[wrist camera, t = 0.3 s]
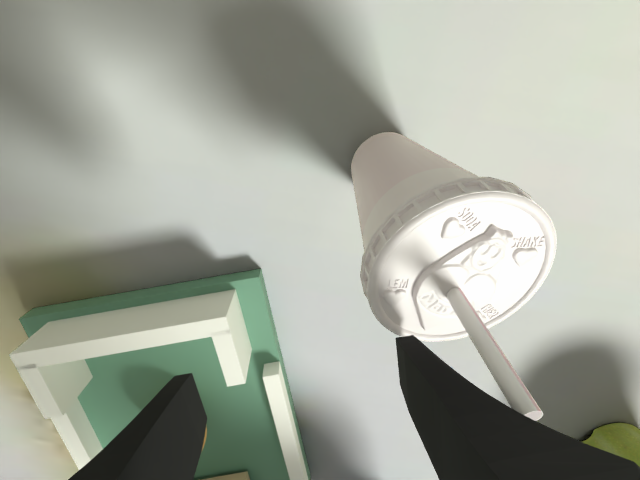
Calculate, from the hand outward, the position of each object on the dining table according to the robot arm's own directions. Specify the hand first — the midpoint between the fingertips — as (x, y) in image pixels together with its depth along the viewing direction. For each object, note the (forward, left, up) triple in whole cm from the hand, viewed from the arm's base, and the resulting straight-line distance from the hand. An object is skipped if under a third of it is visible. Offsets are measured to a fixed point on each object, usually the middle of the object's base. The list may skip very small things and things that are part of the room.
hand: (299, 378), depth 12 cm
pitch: (-9, +9, -10) cm, 16 cm away
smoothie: (+5, -6, -10) cm, 12 cm away
